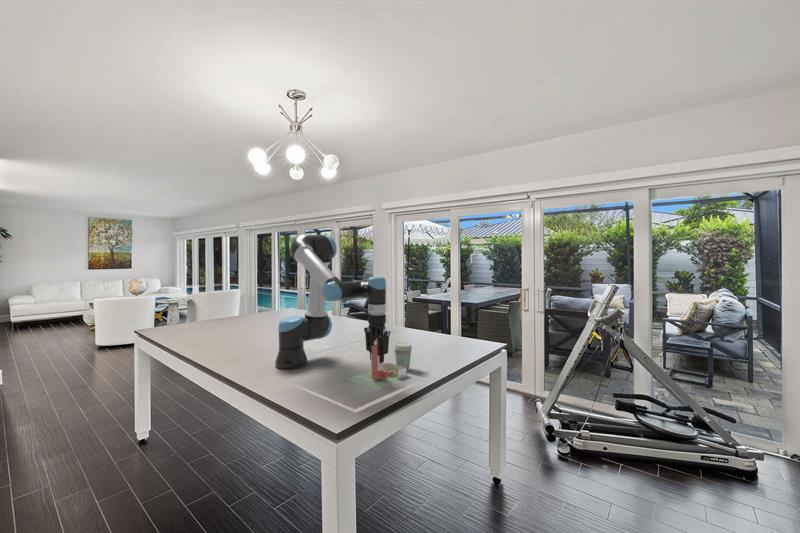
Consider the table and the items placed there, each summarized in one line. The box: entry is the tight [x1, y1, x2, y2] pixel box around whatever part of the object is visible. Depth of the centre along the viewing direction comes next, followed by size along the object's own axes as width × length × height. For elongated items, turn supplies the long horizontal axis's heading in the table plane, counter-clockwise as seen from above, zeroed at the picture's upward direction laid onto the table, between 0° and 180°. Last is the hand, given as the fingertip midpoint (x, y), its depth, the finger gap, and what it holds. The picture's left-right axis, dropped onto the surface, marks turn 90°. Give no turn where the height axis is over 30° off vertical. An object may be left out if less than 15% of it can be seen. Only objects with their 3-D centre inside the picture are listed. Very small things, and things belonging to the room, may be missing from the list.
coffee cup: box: [393, 342, 413, 372], centre depth 165 cm, size 8×8×12 cm
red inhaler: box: [371, 339, 389, 380], centre depth 148 cm, size 7×5×16 cm
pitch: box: [346, 370, 400, 391], centre depth 148 cm, size 18×14×1 cm
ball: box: [388, 370, 396, 378], centre depth 154 cm, size 4×4×4 cm
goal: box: [383, 361, 408, 380], centre depth 155 cm, size 12×6×5 cm, turn 50°
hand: (376, 368), depth 147 cm, fingers closed on red inhaler, 3 cm apart
